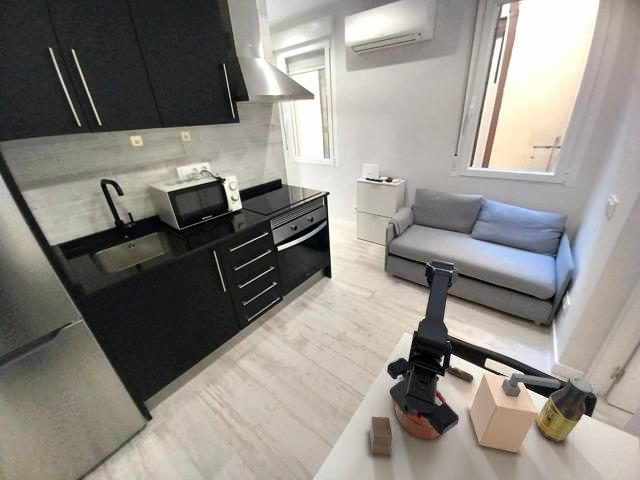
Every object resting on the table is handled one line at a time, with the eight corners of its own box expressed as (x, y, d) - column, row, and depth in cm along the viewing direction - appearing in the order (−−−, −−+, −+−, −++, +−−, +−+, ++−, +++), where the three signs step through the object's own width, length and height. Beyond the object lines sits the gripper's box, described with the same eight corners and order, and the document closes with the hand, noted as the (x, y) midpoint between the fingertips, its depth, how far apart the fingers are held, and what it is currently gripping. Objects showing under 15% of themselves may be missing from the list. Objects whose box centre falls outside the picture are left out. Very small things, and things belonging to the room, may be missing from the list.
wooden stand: (369, 434, 69) (371, 416, 65) (386, 435, 68) (389, 417, 65) (371, 453, 65) (373, 435, 61) (389, 455, 64) (392, 436, 61)
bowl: (391, 389, 80) (393, 379, 77) (435, 391, 79) (438, 380, 77) (400, 437, 68) (403, 426, 66) (452, 440, 67) (456, 429, 65)
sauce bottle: (533, 413, 72) (559, 365, 64) (561, 425, 69) (594, 376, 61) (536, 436, 67) (565, 386, 59) (567, 450, 64) (603, 400, 56)
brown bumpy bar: (444, 370, 85) (444, 368, 84) (446, 364, 87) (446, 362, 85) (472, 384, 81) (473, 381, 80) (473, 377, 82) (474, 374, 81)
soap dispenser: (479, 445, 66) (503, 389, 56) (469, 411, 73) (489, 357, 64) (536, 456, 63) (571, 400, 54) (519, 420, 71) (548, 365, 61)
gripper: (373, 356, 67) (369, 394, 74) (430, 425, 52) (418, 465, 58) (405, 340, 71) (399, 378, 78) (467, 400, 56) (452, 440, 63)
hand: (414, 411), depth 69 cm, fingers closed on tomato, 3 cm apart
